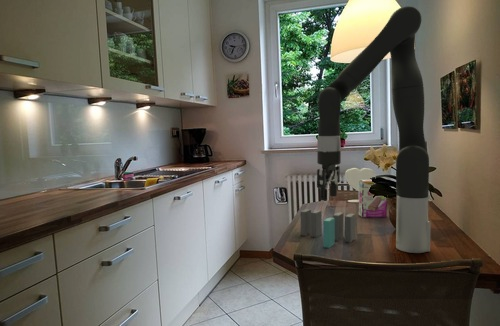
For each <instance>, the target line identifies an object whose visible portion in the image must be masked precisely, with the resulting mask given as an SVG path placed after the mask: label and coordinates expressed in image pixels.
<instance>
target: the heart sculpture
mask: <svg viewBox="0 0 500 326" xmlns="http://www.w3.org/2000/svg"><path fill="white" fill-rule="evenodd" d="M376 176H377V175H376V171H375V170H374V169H372V168H367V167H363V168H360V169H359V168H357V167H352V168H348V169H347V170H346V171H345V174H344V177H345V181H346V182H347V183H348V185H349V186H350V187H351V188H353V189H355V190H356V191H358V195H357V197H358V199H349V200H347V202H349V203H359V180H371V179H370V178H372V177H375V178H376Z"/></svg>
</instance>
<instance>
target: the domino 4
mask: <svg viewBox="0 0 500 326" xmlns="http://www.w3.org/2000/svg"><path fill="white" fill-rule="evenodd" d="M344 214H345V213H344V212H339V211H338V212H336V213H334V214H332V218H335V241H336V242H339V241H341V240H342V239H344V238H345V215H344Z"/></svg>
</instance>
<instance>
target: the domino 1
mask: <svg viewBox="0 0 500 326" xmlns="http://www.w3.org/2000/svg"><path fill="white" fill-rule="evenodd" d="M311 212H312V208H311V209H310V208H305V209H303V210H301V211H300V236H305V237H307V236H308V235H310V234H311Z"/></svg>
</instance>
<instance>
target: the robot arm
mask: <svg viewBox="0 0 500 326" xmlns="http://www.w3.org/2000/svg"><path fill="white" fill-rule="evenodd" d="M422 21H423V19H422V14H421V12H420V10H419V9H417V8H416V7H414V6H411V5H406V6H402V7H400V8H398V9H396V10H395V11H394V12H393V13H392V14H391V16H390V18H389V19H388V21H387V22H386V23H385V25H384V26H383V28H382V29H381V31H380V32H379V33H378V34H377V35H376V36H375V37H374V39H373V40H371V42H370V43H369V44H368V45H367V46H366V47H365V48H364V49H363V50H362V51H361V52H360V53H359V54H358V55H357V56H356V57H354V59H352V61H351V62H349V64H347V66H346V67H345V68H343V70H341V72H340V73H339V74H338V76H337V77H336V78H335V79H334V80H333V81H332V82H331V83H330V84H329V85H328V86H327V87H325V88H324V89H322V90H321V91H320V93H319V94H318V99H317V102H318V115H319V116H318V117H319V118H318V125H317V126H318V128H317V131H318V134H317V135H318V136H317V137H318V138H317V144H316V145H317V151H316V153H317V156H316V157H317V160H316V161H317V162H316V163H317V165H321V168H317V171H316V188H317V189H320V190H319V195H320V197H319V199H320V201H323V202H324V201H325V202H326V201H328V187H329V196H330V197H337V196H338V185H339V183H340V182H341V180H340V177H341V173H340V170H341V169H340V164H341V163H342V162H341V161H342V159H341V155H342V154H341V152H342V150H341V149H342V147H341V146H342V144H341V141H342V140H341V121H340V116H341V108H342V107H341V105H342V104H341V103H342V102H343V101H344V100H345V99H346V98H347V97H348V96H349V94H350V93H351V92H353V91H354V90H355V89H357V88H358V87H359V85H361V83H363V82H364V81H365V80H366V79H367V78H368V77H369V75H371V73H372V72H373V71H374V70H375V69H376V67H377V66H378V65H379V64H380V63H381V62H383V59H385V57H386V56H387V55H389V53H390V62H391V63H390V68H391V69H390V80H391V81H390V83H391V96H392V97H391V99H392V107H393V112H394V117H395V120H396V125H397V129H398V139H399V141H398V143H399V144H398V145H399V146H398V153H397V156H396V159H395V160H396V162H395V187H396V214H395V215H396V216H395V217H396V221H395V223H396V225H395V237H396V238H395V248H396V249H397V250H399V251H401V252H406V253H410V254H411V253H413V254H422V253H423V254H424V253H426V252H431V227H432V226H431V225H432V223H431V221H430V220H429V191H430V189H429V183H430V182H429V181H430V179H429V178H430V156H429V153H428V149H427V145H426V139H425V133H424V132H425V131H424V121H425V88H424V80H423V76H422V73H421V70H420V67H419V65H418V62H417V59H416V49H415V47H416V46H415V43H416V42H415V41H416V39H415V38H416V34H417V33H418V32H419V29H420V28H421V24H422Z"/></svg>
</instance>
